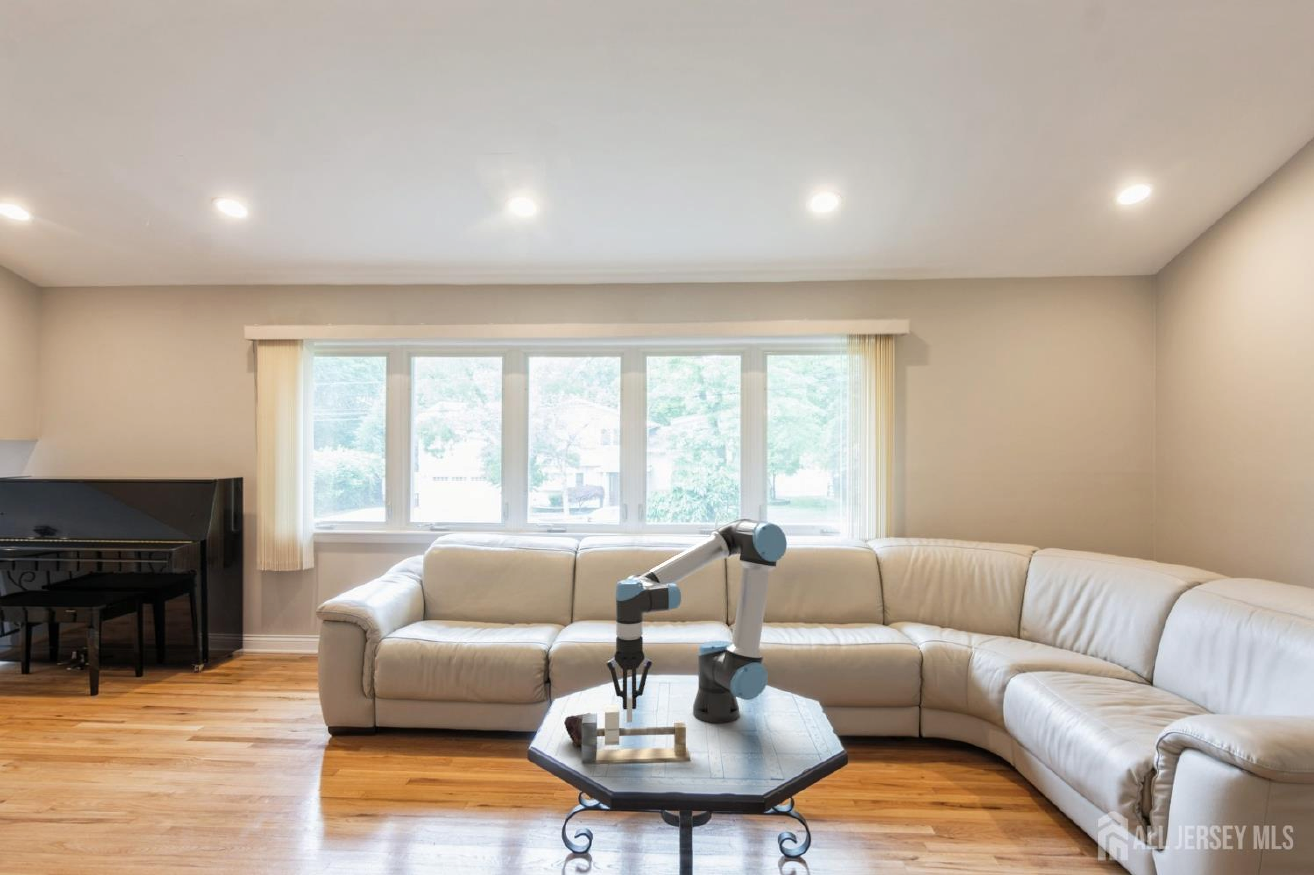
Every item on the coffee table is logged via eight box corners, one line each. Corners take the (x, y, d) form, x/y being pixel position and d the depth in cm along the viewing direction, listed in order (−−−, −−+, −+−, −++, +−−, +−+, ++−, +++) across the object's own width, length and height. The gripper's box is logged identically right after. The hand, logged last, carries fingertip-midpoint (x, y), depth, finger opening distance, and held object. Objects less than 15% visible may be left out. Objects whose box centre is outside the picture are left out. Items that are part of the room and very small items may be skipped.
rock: (597, 738, 189) (564, 738, 188) (598, 708, 191) (565, 708, 190) (597, 750, 177) (561, 750, 177) (598, 718, 179) (563, 718, 178)
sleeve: (619, 736, 177) (619, 704, 177) (619, 745, 172) (619, 712, 172) (604, 737, 177) (605, 705, 177) (604, 745, 172) (605, 712, 172)
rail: (687, 750, 179) (687, 711, 179) (690, 760, 173) (690, 720, 173) (582, 753, 177) (583, 713, 177) (581, 763, 171) (581, 722, 171)
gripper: (651, 631, 180) (651, 714, 179) (606, 632, 179) (606, 715, 179) (653, 639, 173) (653, 725, 172) (606, 640, 172) (606, 726, 171)
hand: (629, 720), depth 175 cm, fingers closed
